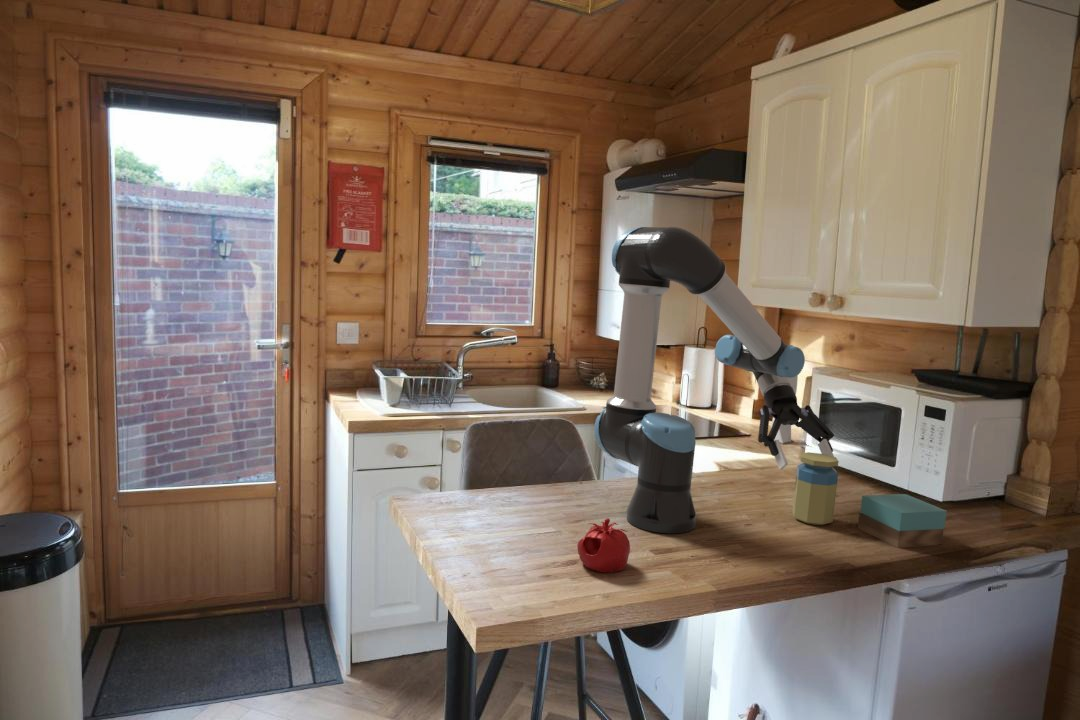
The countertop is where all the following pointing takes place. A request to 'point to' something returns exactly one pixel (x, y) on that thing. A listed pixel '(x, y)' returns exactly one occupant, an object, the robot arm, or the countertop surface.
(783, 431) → the skyscraper
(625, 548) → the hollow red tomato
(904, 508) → the tower top
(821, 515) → the jar
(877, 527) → the tower base
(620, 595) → the countertop surface
